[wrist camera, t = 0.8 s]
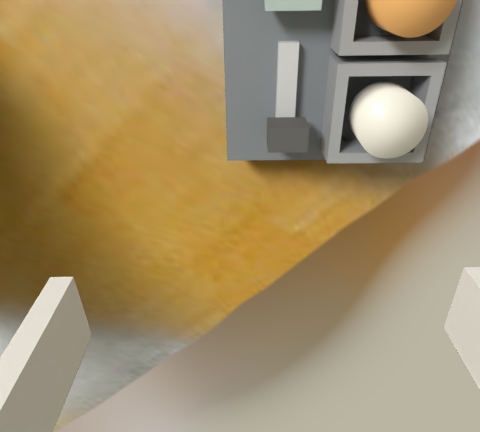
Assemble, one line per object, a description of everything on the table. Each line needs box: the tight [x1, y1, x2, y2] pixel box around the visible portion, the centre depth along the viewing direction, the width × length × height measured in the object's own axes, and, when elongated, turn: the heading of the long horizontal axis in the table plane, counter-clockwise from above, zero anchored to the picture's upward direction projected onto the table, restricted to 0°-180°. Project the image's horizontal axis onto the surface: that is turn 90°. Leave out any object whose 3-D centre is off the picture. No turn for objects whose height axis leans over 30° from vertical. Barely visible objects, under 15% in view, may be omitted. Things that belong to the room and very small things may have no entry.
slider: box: [267, 117, 309, 153], centre depth 29 cm, size 3×2×2 cm, turn 91°
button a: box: [348, 81, 428, 159], centre depth 27 cm, size 4×4×3 cm
